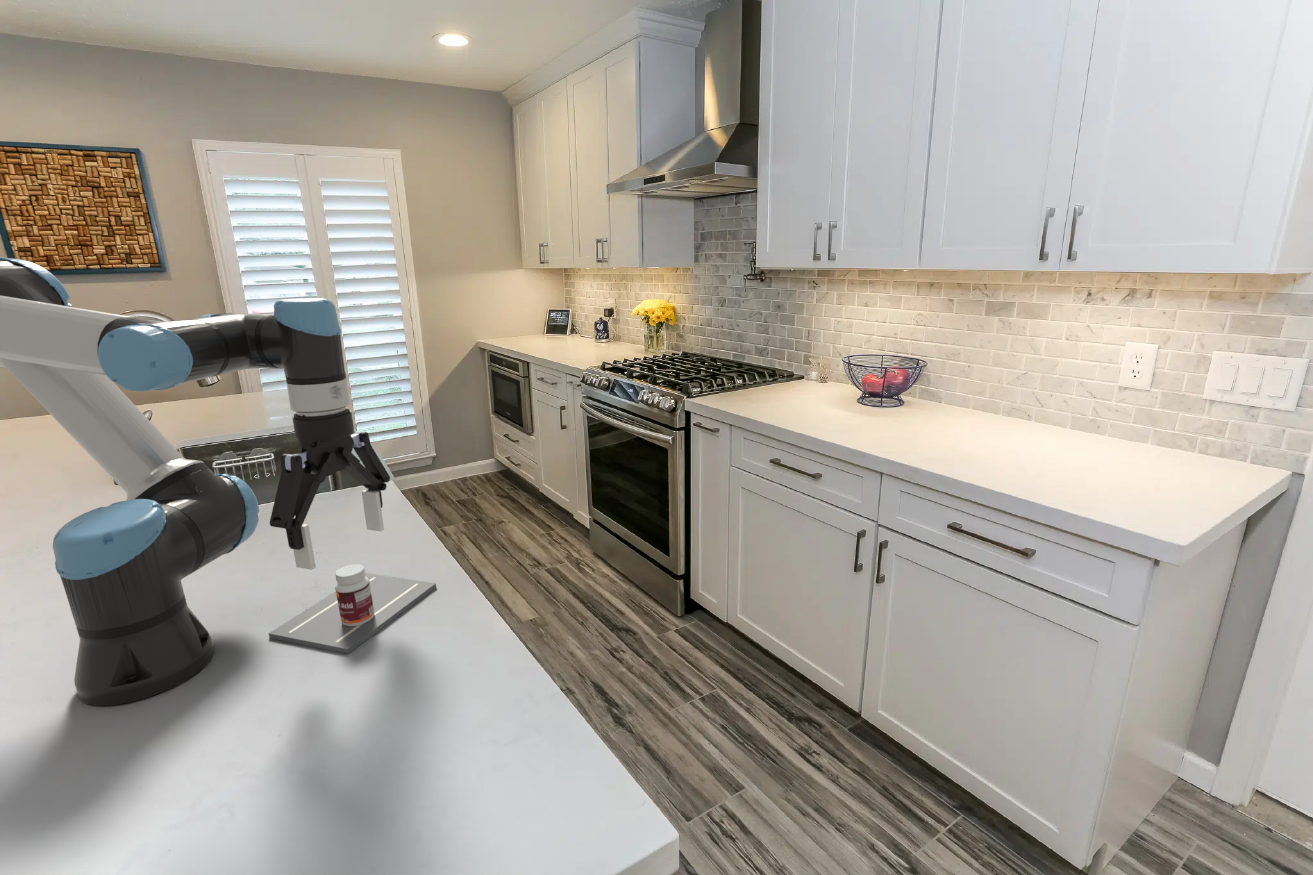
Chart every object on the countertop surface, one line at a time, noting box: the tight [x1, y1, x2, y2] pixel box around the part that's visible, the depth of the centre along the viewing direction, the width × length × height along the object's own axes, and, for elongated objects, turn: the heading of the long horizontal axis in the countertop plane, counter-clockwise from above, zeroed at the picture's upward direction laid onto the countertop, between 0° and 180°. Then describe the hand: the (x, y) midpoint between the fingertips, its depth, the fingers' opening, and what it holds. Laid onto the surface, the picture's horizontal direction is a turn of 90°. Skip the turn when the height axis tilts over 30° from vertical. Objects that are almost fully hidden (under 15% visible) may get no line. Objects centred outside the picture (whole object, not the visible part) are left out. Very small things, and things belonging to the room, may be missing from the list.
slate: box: [268, 572, 437, 655], centre depth 103 cm, size 20×15×1 cm
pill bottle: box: [334, 563, 374, 626], centre depth 98 cm, size 5×5×8 cm
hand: (343, 547), depth 96 cm, fingers open, 13 cm apart
